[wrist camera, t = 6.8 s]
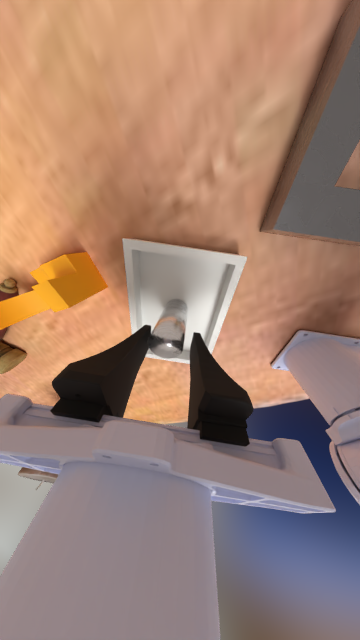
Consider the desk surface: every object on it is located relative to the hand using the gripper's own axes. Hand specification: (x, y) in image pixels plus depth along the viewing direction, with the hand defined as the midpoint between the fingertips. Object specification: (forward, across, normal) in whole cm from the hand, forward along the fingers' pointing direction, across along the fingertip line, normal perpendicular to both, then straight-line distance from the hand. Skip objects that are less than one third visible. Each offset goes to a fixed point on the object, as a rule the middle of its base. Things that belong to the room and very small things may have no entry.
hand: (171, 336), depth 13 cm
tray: (+6, 0, 0) cm, 6 cm away
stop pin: (+5, 0, 0) cm, 5 cm away
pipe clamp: (+6, +16, -1) cm, 17 cm away
